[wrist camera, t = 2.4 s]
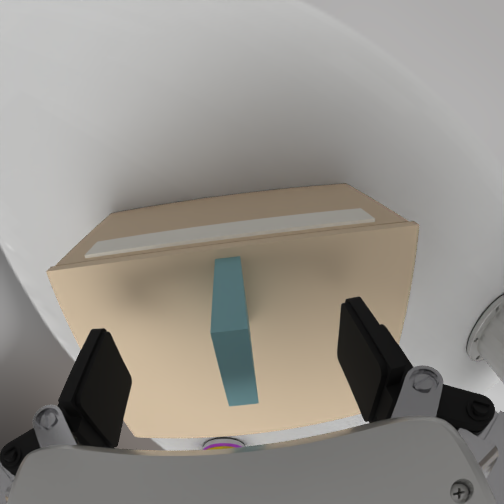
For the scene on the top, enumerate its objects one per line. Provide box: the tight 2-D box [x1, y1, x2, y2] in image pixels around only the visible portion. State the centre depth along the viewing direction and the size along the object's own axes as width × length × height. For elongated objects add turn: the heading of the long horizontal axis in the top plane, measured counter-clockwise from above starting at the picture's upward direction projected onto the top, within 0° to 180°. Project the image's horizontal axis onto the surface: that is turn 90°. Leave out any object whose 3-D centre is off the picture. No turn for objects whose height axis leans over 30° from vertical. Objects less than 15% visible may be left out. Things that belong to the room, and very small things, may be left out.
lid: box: [46, 221, 419, 438], centre depth 15 cm, size 21×16×6 cm
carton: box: [55, 183, 408, 266], centre depth 23 cm, size 20×16×10 cm
